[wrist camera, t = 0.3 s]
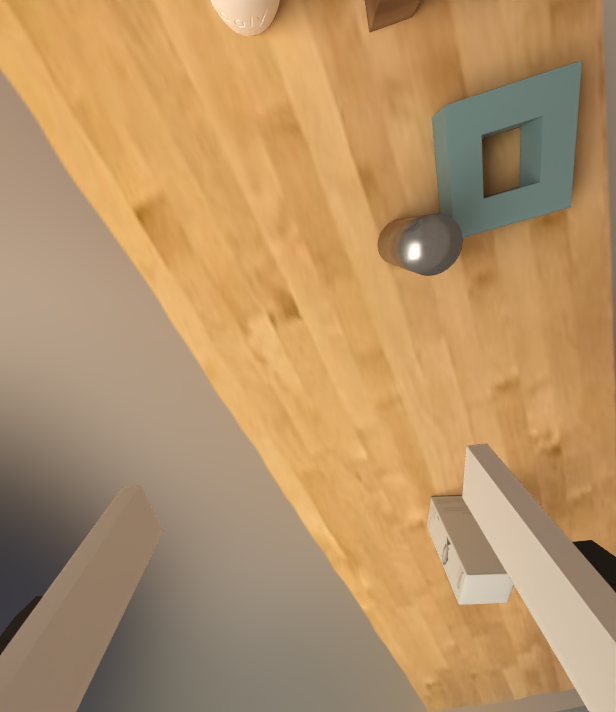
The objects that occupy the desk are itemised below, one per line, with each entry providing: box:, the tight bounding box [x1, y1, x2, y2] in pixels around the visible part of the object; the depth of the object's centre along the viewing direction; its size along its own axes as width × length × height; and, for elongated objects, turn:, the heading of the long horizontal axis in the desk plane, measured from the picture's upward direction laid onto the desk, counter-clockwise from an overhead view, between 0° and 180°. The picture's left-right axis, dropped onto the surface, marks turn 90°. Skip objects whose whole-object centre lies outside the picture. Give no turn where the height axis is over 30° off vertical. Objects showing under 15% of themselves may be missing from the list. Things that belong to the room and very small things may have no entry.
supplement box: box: [427, 496, 514, 604], centre depth 46 cm, size 7×7×13 cm
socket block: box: [432, 61, 582, 237], centre depth 30 cm, size 12×12×3 cm
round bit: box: [378, 214, 463, 276], centre depth 29 cm, size 5×5×10 cm
